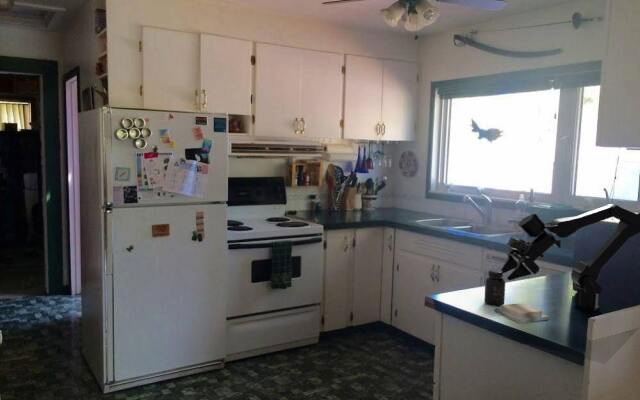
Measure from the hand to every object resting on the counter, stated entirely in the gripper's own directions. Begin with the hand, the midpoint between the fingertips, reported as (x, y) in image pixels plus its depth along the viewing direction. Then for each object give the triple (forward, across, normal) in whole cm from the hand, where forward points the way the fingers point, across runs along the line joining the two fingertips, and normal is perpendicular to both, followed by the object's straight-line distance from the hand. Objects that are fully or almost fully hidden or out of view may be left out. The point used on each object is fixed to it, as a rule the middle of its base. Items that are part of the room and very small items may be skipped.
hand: (504, 275), depth 183 cm
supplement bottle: (+10, 0, +5) cm, 11 cm away
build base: (+5, +12, +9) cm, 16 cm away
